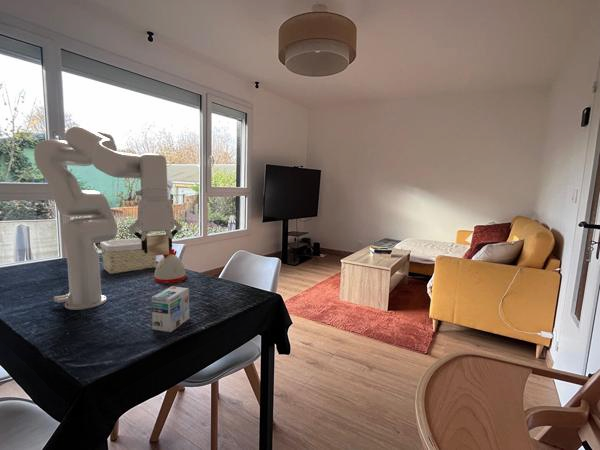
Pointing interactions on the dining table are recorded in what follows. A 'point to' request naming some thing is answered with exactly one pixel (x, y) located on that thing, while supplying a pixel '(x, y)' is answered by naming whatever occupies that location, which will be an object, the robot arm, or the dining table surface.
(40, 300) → the dining table surface
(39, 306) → the dining table surface
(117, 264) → the storage basket
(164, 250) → the maple block
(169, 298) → the light bulb box
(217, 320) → the dining table surface
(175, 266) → the kitchen timer
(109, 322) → the dining table surface
